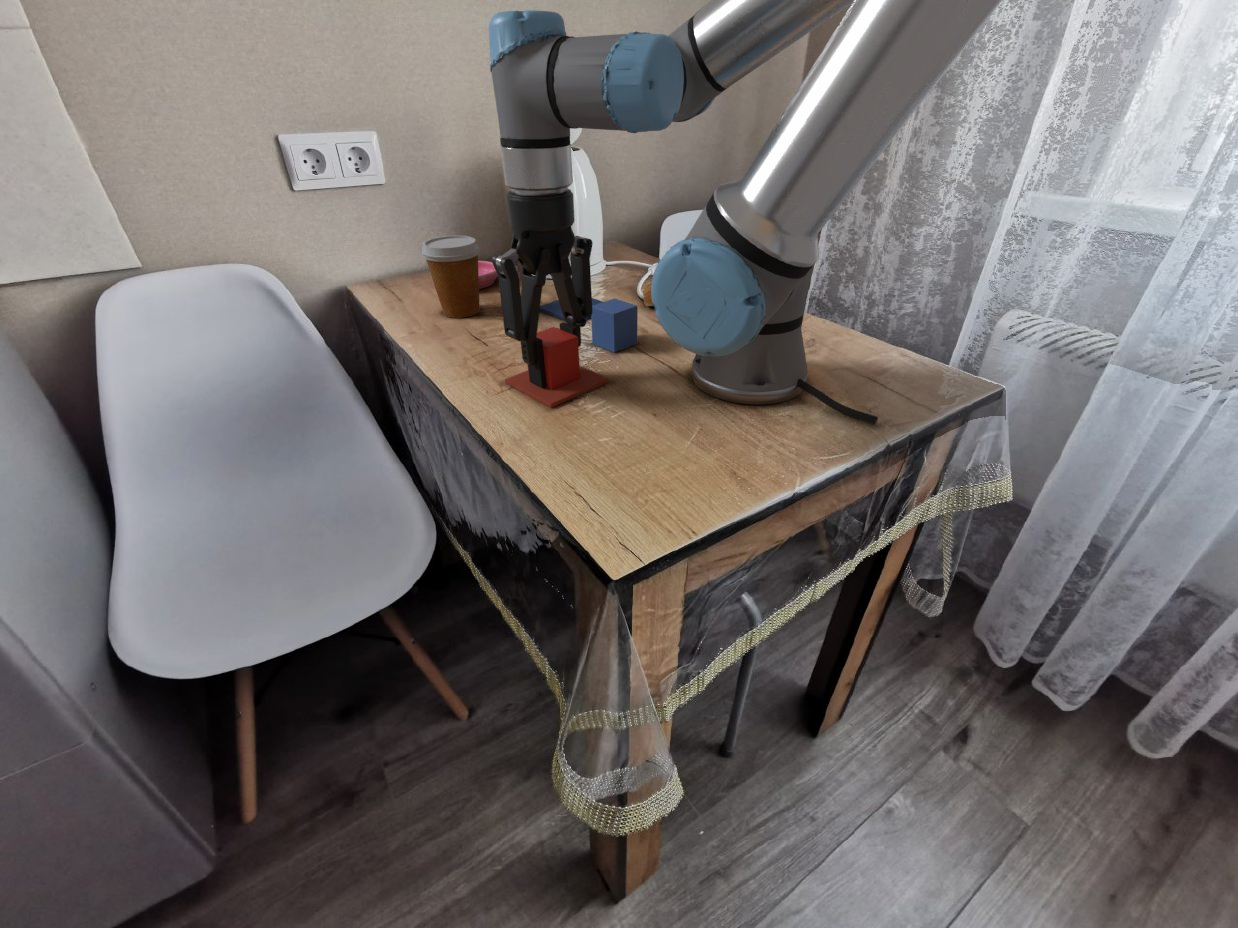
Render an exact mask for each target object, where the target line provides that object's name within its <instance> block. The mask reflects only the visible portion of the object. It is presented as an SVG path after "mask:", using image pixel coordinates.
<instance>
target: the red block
mask: <svg viewBox="0 0 1238 928" xmlns="http://www.w3.org/2000/svg"><path fill="white" fill-rule="evenodd" d="M537 338H539V339H542V342H543V352H544V363H545V373H546V384H547V386H546V387H547V388H549V389H551V390H553V389H556V388H558V387H560V386H563V385H565V384H567V383H570V382H572V381H574V380H577V379H579V378H580V366H581V365H580V349H579V347H578V336H575V335H573V334H570V333H568V332H565V331H563V330H560V328H558V327H555V326H552V327H549V328H546V329H544V330H541V331H537ZM526 364H527V363H526ZM526 366H528V364H527V365H526ZM527 371H528V374H529V370H528V369H527Z"/></svg>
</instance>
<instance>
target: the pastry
mask: <svg viewBox="0 0 1238 928" xmlns="http://www.w3.org/2000/svg"><path fill="white" fill-rule="evenodd" d="M651 284H652V281H650V282H648V283H647V285H646V286H645V287H644V289H643V292H642V296H643V304H644V306H645V307H654V304H653V303H652V298H651Z"/></svg>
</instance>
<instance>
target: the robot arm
mask: <svg viewBox="0 0 1238 928" xmlns="http://www.w3.org/2000/svg"><path fill="white" fill-rule="evenodd" d="M1003 1H1004V0H710V1H708V2H707V3H706V4H705V5H703V6H702V7H701V8H700V9H699V10H697V11H696V12H695V14H693V16H690V18H688V19H687V20H686V21H684V22H683V23H682V24H681V25H680V26H678V27H677V28H676V29H675V30H673V31H672V32H671V33H670V34H668V35H666V34H663V33H650V32H646V31H645V32H644V31H643V32H640V31H638V30H636V31H629V32H628V33H619V34H618V33H616V34H602V35H590V36H589V35H587V36H569V35H567V32H566V27H565V20H564V18H563V16H562V15H561V14H560V13H558V12H555V11H552V10H551V11H548V10H529V9H528V10H520V11H519V10H506V11H499V12H497V13H495V14H493V15H492V17H491V18H490V20H489V22H488V40H489V41H488V42H489V57H490V58H489V59H490V63H489V68H490V69H489V71H490V73H491V79H492V86H493V93H494V97H495V98H494V100H495V106H496V113H497V120H498V121H497V122H498V128H499V134H500V136H499V138H500V139H499V141H500V152H501V159H502V169H503V177H504V184H505V187H507V188H508V189H510V190H509V191H508V192H507V194H506V195H505V197H506V198H505V199H506V208H507V215H508V223H509V226H510V228H511V231H512V239H511V243H510V249H509V250H507V251H506V252H505V253H503V254H501V255H499V254H494V255H493V256H492V257H491V262H492V263H493V266H494V268H495V270H496V272H497V274H498V277H497V278H498V286H499V287H498V288H499V295H500V303H501V312H502V313H501V314H502V321H503V328H504V329H503V330H504V334H505V336H507V337H509V338H510V339H513V340H515V341H517V342H520V349H521V358H522V361H523V362H524V363H526V364H528V365H527V371H528V370H529V379H530V382H531V383H533V384H535V385H537V386H539V387H541V388H544V387H546V386H547V384H546V373H545V363H544V352H543V342H542V339H539V338H537V332H538V328H539V327H538V326H539V319H540V318H539V317H540V312H541V311H540V306H541V302H542V301H541V300H542V293H543V287H544V286H545V285H546V282H547V276H550V277H551V279H552V282H553V283H552V284H553V286H554V290H555V292H556V296H557V300H559V303H560V306H561V310H562V313H563V316H564V319H565V320H564V321H563V322H560V323H559V329H560V330H563V331H565V332H568V333H570V334H573V335H575V336H578V348H579V347H581V345H582V329H581V328H584V327H585V326H586V325H587V319H586V320H584V318H586V317H590V316H591V315H592V298H593V295H592V294H593V293H592V278H591V277H592V276H591V255H592V249H593V243H594V242H593V240H592V239H591V238H587V237H584V236H579V235H575V233H574V231H573V228H572V226H573V225H574V223H575V204H574V203H575V202H574V193H573V192H572V190H571V189H570V188H569V187H570V186H571V185H572V184H573V182H574V179H573V162H572V146H571V145H572V144H571V129H573V130H575V129H576V130H577V129H586V130H587V129H589V130H603V131H624V132H627V133H629V134H638V133H647V132H660V131H663V130H666V129H667V128H669V127H670V125H671V124H672V123H683V122H687V121H690V120H692V119H693V118H695V117H699V116H701V114H703V113H704V112H706V111H707V110H708V109H709V108H710V107H711V105H712V104H713V102H714V101H715V99H716V97H718V96H720V95H721V94H723V92H725V91H726V90H727V89H729V88H730V87H731V86H733V85H734V84H736V83H737V82H739V81H740V80H741V79H743V78H745V77H746V76H747V75H749V74H750V73H752V72H753V71H755V70H756V69H758V68H759V67H761V66H762V65H764V64H765V63H767V62H768V61H770V60H771V59H772V58H774V57H776V56H777V55H778V54H780V53H782V52H783V51H784V50H786V49H787V48H788V47H790V46H792V45H793V44H795V43H796V42H797V41H799V40H800V39H802V38H804V37H805V36H806V35H808V34H809V33H811V32H812V31H814V30H815V29H817V28H818V27H819V26H821V25H823V24H824V23H826V22H827V21H828V20H830V19H831V18H833V17H834V16H836V15H837V14H838V13H840V12H842V11H843V10H845V9H846V8H847V7H848V9H847V10H846V12H845V14H844V15H843V17H842V18H841V20H840V22H839V23H838V25H837V27H836V28H835V30H834V31H833V33H832V34H831V36H830V38H829V39H828V41H827V42H826V44H825V45H824V47H823V48H822V51H820V53H819V55H818V57H817V58H816V60H815V61H814V63H813V65H812V66H811V68H810V69H809V71H808V72H807V74H806V75H805V77H804V79H803V80H802V82H801V84H800V85H799V87H798V89H797V90H796V91H795V93H794V94H793V97H792V98H791V99H790V101H789V102H788V104H787V106H786V107H785V109H784V111H783V113H782V114H781V115H780V117H779V119H778V120H777V121H776V124H775V125H774V126H773V128H772V130H771V131H770V132H769V134H768V136H767V138H766V140H764V143H762V146H761V147H760V149H759V151H758V152H757V153H756V155H755V157H754V159H752V162H751V164H750V165H749V166H748V168H747V169H746V171H745V172H744V174H743V176H742V177H741V178H739V179H736V180H731V181H728V182H724V183H721V184H719V185H718V186H717V187H716V188H715V190H714V192H713V193H712V194H711V196H710V198H709V200H708V202H707V203H706V205H705V206H704V208H703V209H702V211H701V213H700V214H699V216H698V218H697V219H696V220H695V223H694V224H693V226H692V228H691V229H690V231H689V233H688V234H687V235H686V237H685V238H684V239H682V240H680V241H678V242H676V243H675V244H673V245H672V246H670V247H669V250H667V251H666V252H665V253H664V255H663V256H662V257H661V258H660V260H659V261H658V263H657V265H656V266H655V269H654V271H653V274H652V277H651V282H652V284H651V298H652V303H653V304H654V306H653V308H654V311H655V316H656V319H657V321H658V323H659V324H660V326H661V328H662V329H663V330H664V332H665V333H666V335H667V336H669V338H670V339H671V340H672V341H673V342H675V343H676V344H677V345H678V346H680V347H681V348H683V349H684V350H686V351H687V352H690V353H693V354H695V355H694V357H693V360H692V367H691V380H692V382H693V383H694V385H695V386H696V387H697V388H698V389H700V390H701V391H703V392H704V393H705V394H707V395H710V396H711V397H713V398H717V399H720V400H722V401H727V402H730V403H736V404H741V405H742V404H743V405H756V406H757V405H772V404H773V405H774V404H778V403H782V402H787V401H790V400H791V399H794V398H796V397H798V396H799V395H800V394H801V393H803V391H805V392H806V393H808V394H809V395H811V396H813V397H814V398H816V399H817V400H819V401H821V402H822V404H825V405H826V406H827V407H829V408H831V409H833V410H834V411H836V412H838V413H840V414H843V415H845V416H848V417H851V418H853V419H856V420H859V421H863V422H866V423H867V424H868V423H869V424H872V425H876V423H878V420H879V417H878V416H876V415H873V414H871V413H867V412H863V411H860V410H859V409H854V408H852V407H849V406H847V405H844V404H842V403H840V402H838V401H837V400H834V399H833V398H832V397H830V396H828V395H827V394H826V393H824V392H823V391H821V390H819V389H818V388H817V387H815V386H813V385H811V384H809V382H807V380H808V373H809V369H808V364H807V357H806V350H805V345H804V338H803V331H802V327H803V321H804V315H805V311H806V304H807V300H808V295H809V289H810V283H811V278H812V272H813V267H814V266H815V264H816V263H817V262H818V260H819V258H820V248H819V235H820V234H821V233H822V232H821V231H822V230H823V228H824V227H825V226H826V225H827V223H828V222H829V221H830V220H831V218H833V216H834V214H835V213H836V212H837V210H838V209H839V208H840V207H841V205H842V204H843V203H844V202H845V201H846V199H847V198H848V197H849V196H850V194H851V192H853V190H854V189H855V188H856V186H857V185H858V184H859V183H860V182H861V180H862V179H863V178H864V177H865V175H866V174H867V173H868V171H869V170H870V169H871V167H872V166H874V164H875V162H876V161H877V160H878V159H879V158H880V156H881V155H882V154H883V152H884V151H885V150H886V149H887V147H888V146H889V145H890V143H891V142H892V141H893V139H895V137H896V136H897V135H898V134H899V132H900V131H901V130H902V128H903V127H904V126H905V124H906V123H907V122H908V121H909V120H910V119H911V117H912V115H914V113H915V112H916V110H917V109H918V108H919V107H920V106H921V104H922V103H923V102H924V100H925V99H926V98H927V97H928V96H929V94H930V93H931V92H932V90H933V89H934V88H935V87H936V85H937V84H938V83H939V82H940V80H941V79H942V78H943V77H944V76H945V74H946V73H947V71H948V70H949V69H950V68H951V66H953V64H954V63H955V61H956V60H957V59H958V57H960V55H961V54H962V52H963V51H964V50H965V49H966V48H967V46H968V45H969V43H971V41H972V40H973V38H975V36H976V34H978V32H979V31H980V30H981V29H982V27H984V25H985V23H986V22H987V21H988V20H989V18H990V17H991V16H992V15H993V13H994V12H995V11H996V10H997V8H998V7H999V6H1000V4H1001V3H1002V2H1003ZM569 257H570V258H569ZM518 262H519V264H520V266H519V265H518ZM519 270H520V273H518V271H519ZM520 281H521V284H520ZM520 285H521V286H520Z"/></svg>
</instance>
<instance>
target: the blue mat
mask: <svg viewBox="0 0 1238 928" xmlns="http://www.w3.org/2000/svg"><path fill="white" fill-rule="evenodd" d="M602 302H604V301H602V300H599V299H597V298H593V297H592V306H593V305H596V304H599V303H602ZM539 312H542V313H545V314H546V315H549V316H551V317H554V318H558V319H560V320H563V321H565V319H564V316H563V313H562V310H561V306H560V303H559V300H558V299H557V300H554V301H551V302H548V303H545V304H544V303H543V304H540V311H539ZM590 319H591V316H590V317H586V318H584V320H586V321H587V320H590Z"/></svg>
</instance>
